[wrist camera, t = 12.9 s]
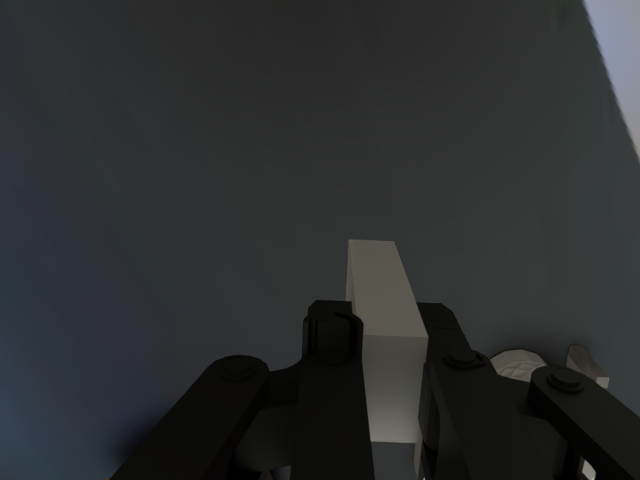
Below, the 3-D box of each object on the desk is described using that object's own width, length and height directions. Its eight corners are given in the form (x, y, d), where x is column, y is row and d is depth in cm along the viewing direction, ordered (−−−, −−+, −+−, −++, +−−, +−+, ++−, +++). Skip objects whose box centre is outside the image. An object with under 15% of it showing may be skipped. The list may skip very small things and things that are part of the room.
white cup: (571, 357, 48) (629, 427, 39) (535, 425, 50) (581, 508, 41) (491, 332, 48) (530, 397, 38) (458, 403, 50) (486, 481, 40)
